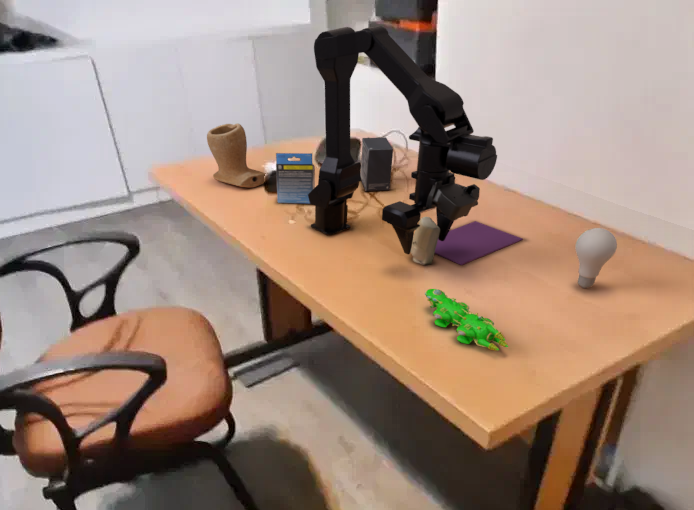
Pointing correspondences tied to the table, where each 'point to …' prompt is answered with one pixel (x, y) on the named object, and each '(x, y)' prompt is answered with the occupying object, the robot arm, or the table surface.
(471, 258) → the felt cloth
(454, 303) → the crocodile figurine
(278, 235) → the table surface
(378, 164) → the small box
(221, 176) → the tan boot-shaped vase
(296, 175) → the tape cartridge
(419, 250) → the grey rounded block
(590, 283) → the lightbulb
